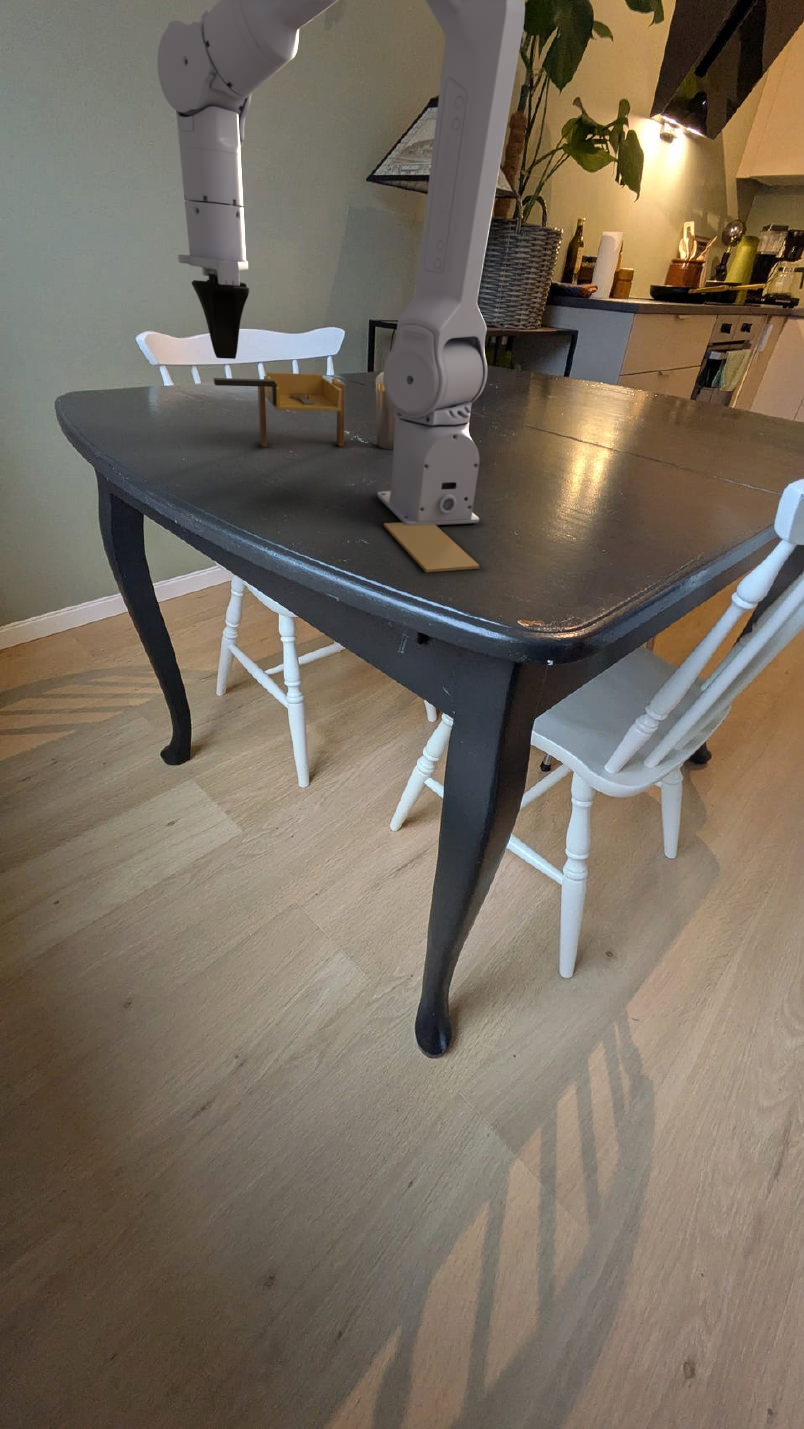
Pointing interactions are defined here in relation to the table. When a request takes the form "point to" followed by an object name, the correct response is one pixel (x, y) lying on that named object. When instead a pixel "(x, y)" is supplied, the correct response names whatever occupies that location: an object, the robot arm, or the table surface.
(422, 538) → the mat
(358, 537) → the table surface
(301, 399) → the key
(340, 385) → the stand
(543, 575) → the table surface
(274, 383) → the tray
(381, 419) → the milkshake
